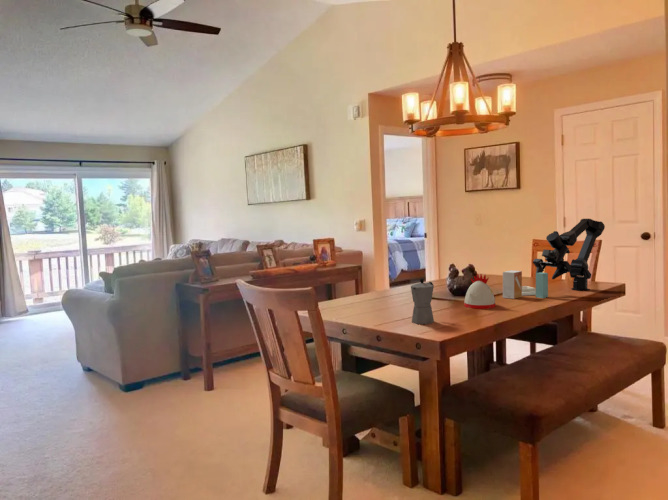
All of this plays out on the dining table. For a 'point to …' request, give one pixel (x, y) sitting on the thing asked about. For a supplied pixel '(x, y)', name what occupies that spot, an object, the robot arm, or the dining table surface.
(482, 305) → the kitchen timer
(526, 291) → the plinth
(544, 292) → the pillar
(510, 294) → the small box
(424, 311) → the coffeepot
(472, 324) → the dining table surface
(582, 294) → the dining table surface
